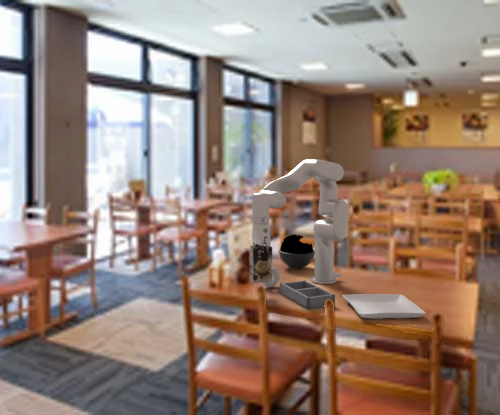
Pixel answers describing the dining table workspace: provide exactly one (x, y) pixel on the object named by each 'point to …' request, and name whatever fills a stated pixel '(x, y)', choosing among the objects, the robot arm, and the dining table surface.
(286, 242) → the bowl of black rocks
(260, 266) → the coffee box
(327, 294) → the caddy
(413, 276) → the dining table surface
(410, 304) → the square plate
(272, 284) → the donut
